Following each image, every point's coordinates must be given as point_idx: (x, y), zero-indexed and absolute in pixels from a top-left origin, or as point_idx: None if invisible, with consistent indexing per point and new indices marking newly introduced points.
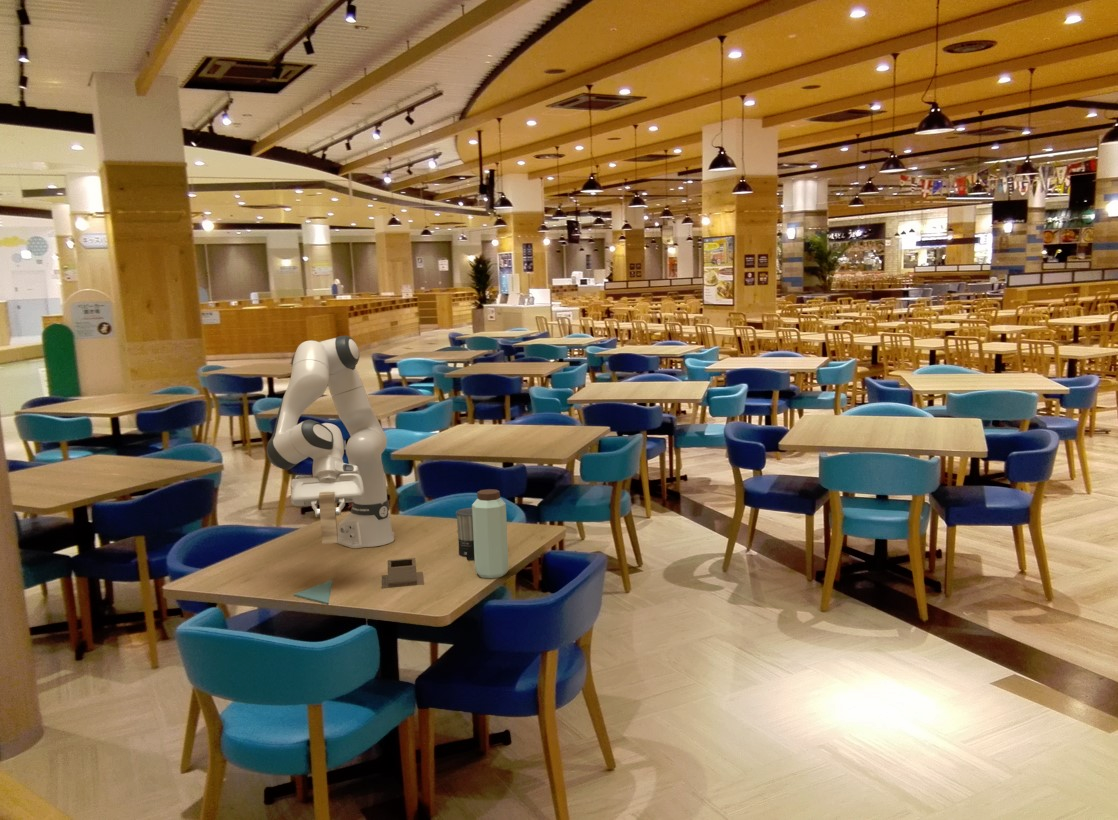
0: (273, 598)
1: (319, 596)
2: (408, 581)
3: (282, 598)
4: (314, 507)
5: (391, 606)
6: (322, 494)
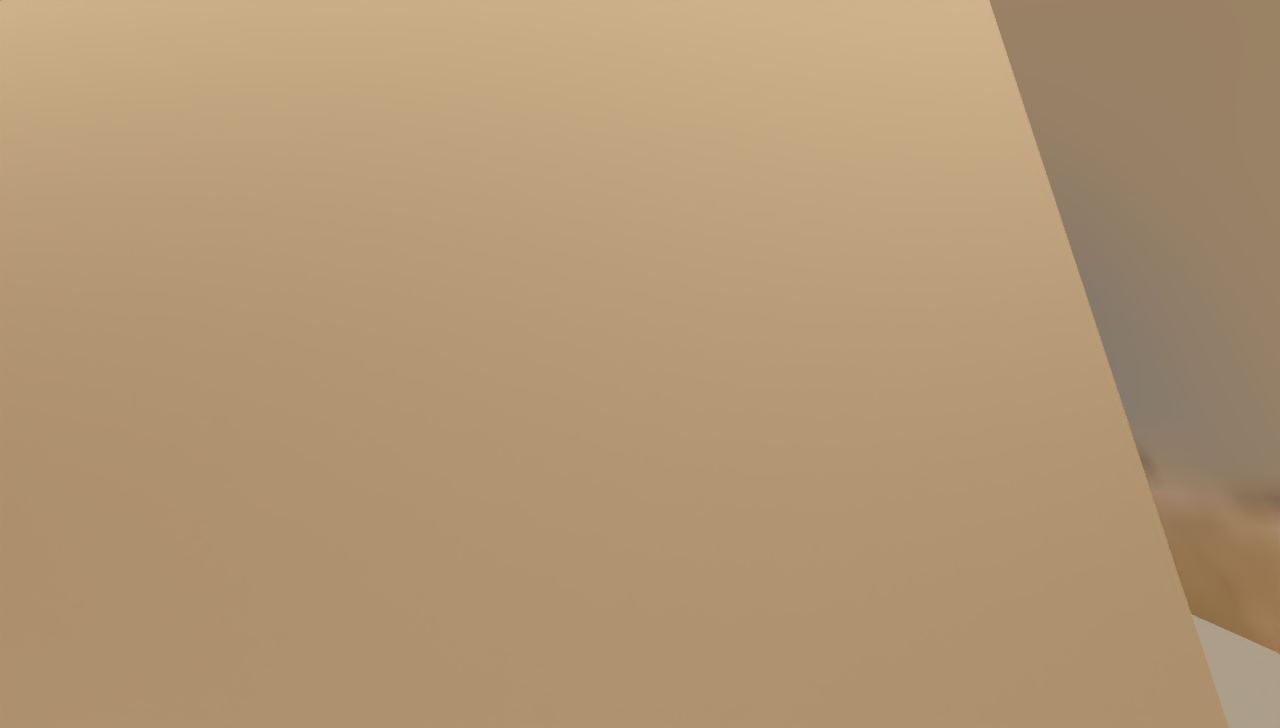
0: (1265, 521)
1: None
2: None
3: (1162, 514)
4: (1201, 637)
5: None
6: (615, 121)
